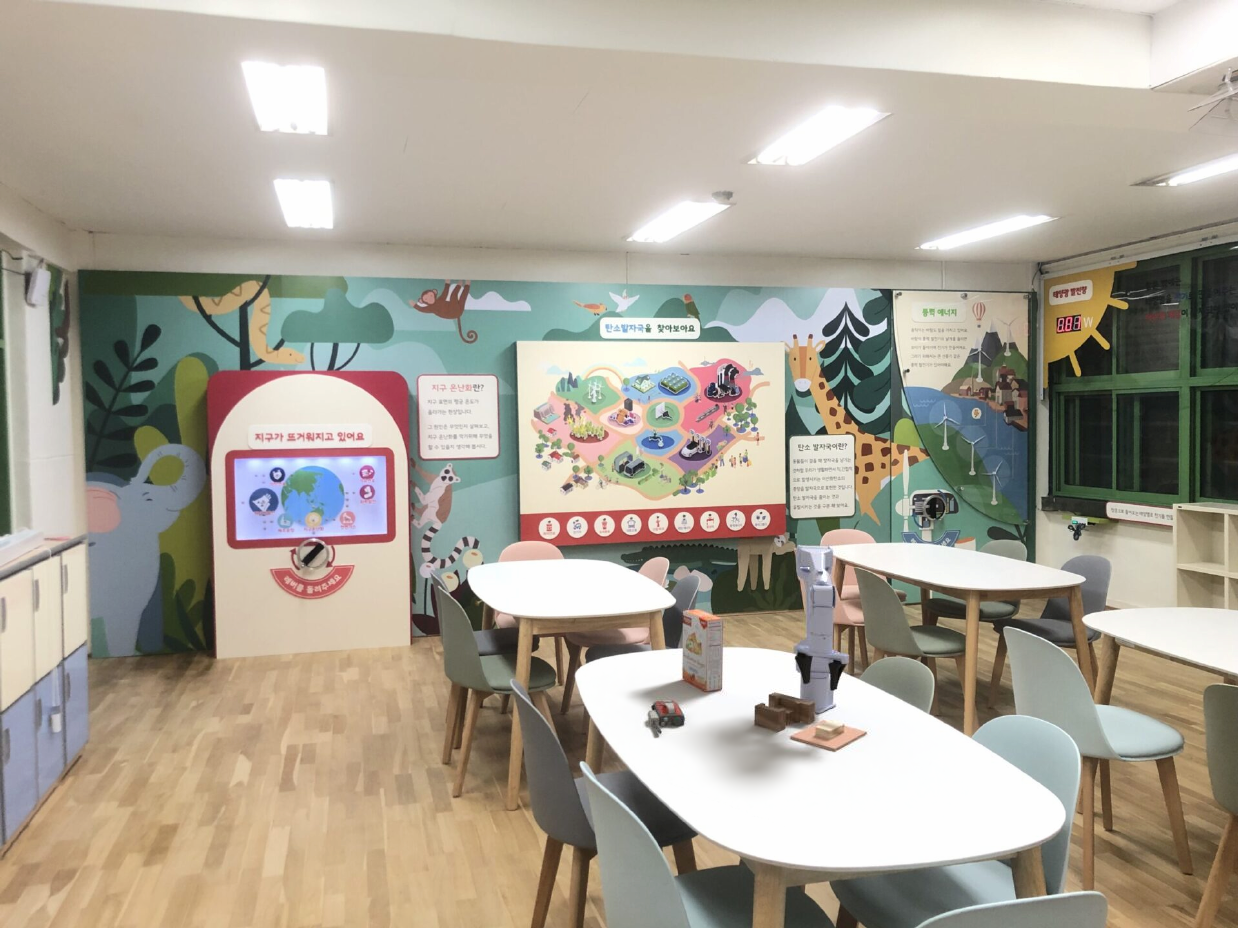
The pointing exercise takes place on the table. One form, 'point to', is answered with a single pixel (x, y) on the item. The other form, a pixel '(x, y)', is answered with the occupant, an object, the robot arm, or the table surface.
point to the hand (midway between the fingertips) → (819, 686)
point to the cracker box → (702, 650)
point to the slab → (829, 729)
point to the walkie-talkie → (666, 714)
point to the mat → (831, 744)
